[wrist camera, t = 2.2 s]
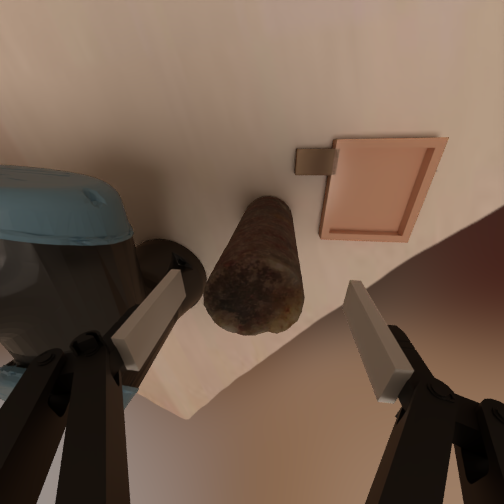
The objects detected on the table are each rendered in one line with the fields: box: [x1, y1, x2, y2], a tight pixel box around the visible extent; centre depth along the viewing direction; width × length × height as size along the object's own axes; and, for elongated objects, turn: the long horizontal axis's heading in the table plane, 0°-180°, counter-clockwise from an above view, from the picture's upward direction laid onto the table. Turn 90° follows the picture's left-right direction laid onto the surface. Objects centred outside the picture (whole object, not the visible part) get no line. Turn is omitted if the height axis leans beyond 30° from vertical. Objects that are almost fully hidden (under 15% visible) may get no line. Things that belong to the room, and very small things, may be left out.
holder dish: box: [319, 137, 449, 243], centre depth 27 cm, size 12×13×2 cm
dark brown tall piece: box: [203, 196, 305, 335], centre depth 22 cm, size 8×7×20 cm
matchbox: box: [295, 149, 340, 175], centre depth 26 cm, size 5×3×2 cm, turn 92°
